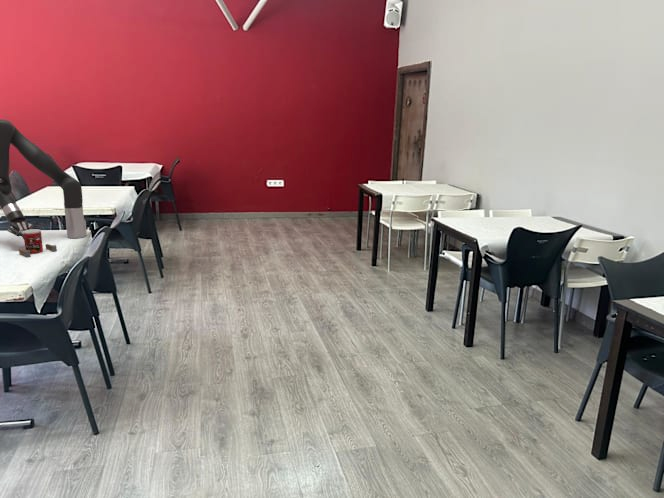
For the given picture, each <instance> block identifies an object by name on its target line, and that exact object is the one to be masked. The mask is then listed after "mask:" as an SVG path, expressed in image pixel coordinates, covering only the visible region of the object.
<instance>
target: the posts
mask: <svg viewBox="0 0 664 498" xmlns="http://www.w3.org/2000/svg"><path fill="white" fill-rule="evenodd" d="M51 245H52V244H51ZM51 249H52V251H51V252H57V251H58V249H57V245H56V244H53V245H52V246H51ZM24 257H25V258H30V257H31V254H30V251H29V250H27V251H26V250H25V256H24Z"/></svg>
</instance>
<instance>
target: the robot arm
mask: <svg viewBox="0 0 664 498" xmlns="http://www.w3.org/2000/svg"><path fill="white" fill-rule="evenodd" d="M11 145H12V146H13V147H14V148H15V149H16V150H17V151H18V153H20V154H21V155H22V157H23V158H25V160H26V161H28V163H29V164H31V166H33V167H34V168H36V169H37V170H38V171H40V172H41V173H42V174H43V175H46V176H47V177H49V178H50V179H52V180H53V181H54V182H55V183H56V184H57V185H58V186H59V187H60V188H61V189H62V191H63V193H62V194H63V207H64V208H63V209H64V216H65V226H66V227H65V228H66V236H67V238H69V239H81V238H85V237H87V236H88V233H87V232H88V231H87V222H86V219H85V218H84V217H85V216H84V205H83V204H84V203H83V189H82V188H83V187H82V185H81V183H80V181H78V180H77V179H76V178H74V177H73V176H71V175H70V174H68V173H67V172H66V171H65V170H63V169H62V168H61V167H60V165H58V163H57V162H56V161H55V160H54V159H53V158H52V157H50V155H48V154H47V153H46V152H45V151H44V150H43V149H41V148H40V147H39V146H37V145H36V143H34V142H32V141H31V140H30V139H28V137H26V136H24V135H23V134H22V133H21V132H20V130H19V129H18V128H17V127H16V126H15V125H14V124H13V123H12V122H11V121H9V120H7V119H0V181H1V182H0V208H1V210H2V212H3V215H4V216H5V218H6V220H7V222H8V224H9V227H8V229H7V232H8V233H10V234H13V235H15V236H16V237H22V239H23V240H24V235H23V231H25V230H30V229H34V226H35V224H34V223H29V222H28V221H27V219H26V217H25V215H24V214H23V212H22V209H20V207H19V205H18V204H17V202H16V201H15V199H14V197H13V196H12V195H11V193H12V190H13V189H12V184H11V180H10V149H11ZM28 228H29V229H28Z"/></svg>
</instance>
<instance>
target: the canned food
mask: <svg viewBox="0 0 664 498" xmlns="http://www.w3.org/2000/svg"><path fill="white" fill-rule="evenodd" d="M23 235H24V239H23V241H24V249H25V251H27V250H29V251H30V255H31V254H34V255H35V254H39V253H43V250H44V245H43V238H42V237H43V236H42V230H41V229H37V228H33V229H30V230H29V229H27V230H25V231H23Z"/></svg>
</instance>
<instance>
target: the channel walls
mask: <svg viewBox="0 0 664 498" xmlns="http://www.w3.org/2000/svg"><path fill="white" fill-rule="evenodd" d="M51 246H52V244H49V243H46V244H45V250H48V251H51V252H53V251H52V249H51ZM25 251H26V250H24V249H22V248H20V249H19V250H18V253H19V255H20V256H22V257H25Z"/></svg>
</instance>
